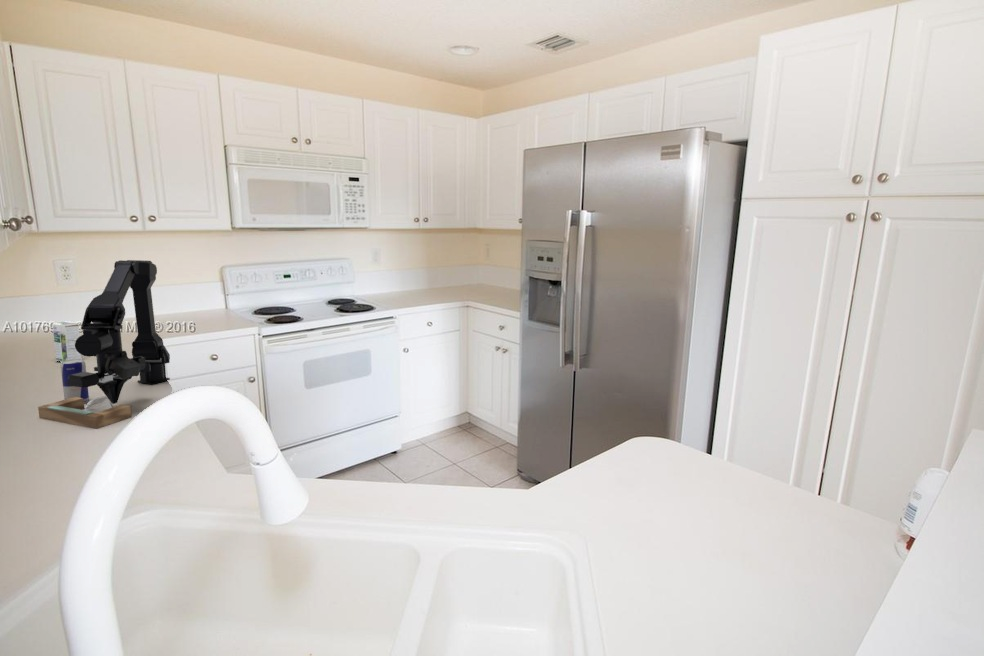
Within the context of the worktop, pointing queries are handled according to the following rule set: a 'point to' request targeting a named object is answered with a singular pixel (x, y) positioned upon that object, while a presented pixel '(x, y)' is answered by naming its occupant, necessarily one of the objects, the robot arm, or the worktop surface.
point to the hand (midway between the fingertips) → (114, 403)
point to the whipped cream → (99, 404)
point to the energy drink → (69, 369)
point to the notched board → (82, 413)
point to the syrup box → (66, 340)
